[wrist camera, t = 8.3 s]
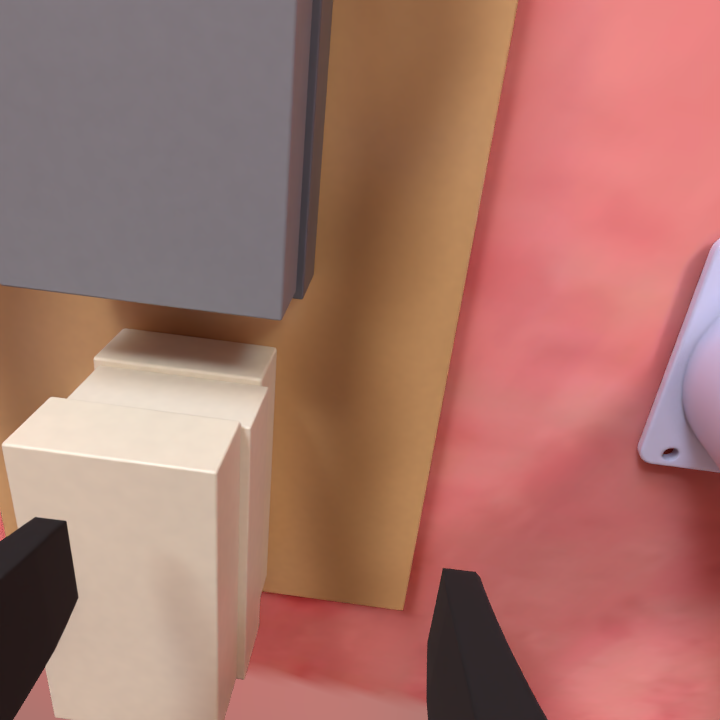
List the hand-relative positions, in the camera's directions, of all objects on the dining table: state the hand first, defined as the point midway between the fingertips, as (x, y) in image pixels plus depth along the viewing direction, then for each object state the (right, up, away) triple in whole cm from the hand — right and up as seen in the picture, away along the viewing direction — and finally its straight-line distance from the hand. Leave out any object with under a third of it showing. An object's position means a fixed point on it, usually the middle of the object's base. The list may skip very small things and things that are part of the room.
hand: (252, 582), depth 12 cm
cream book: (-4, -1, +6) cm, 8 cm away
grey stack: (-2, +12, +4) cm, 13 cm away
